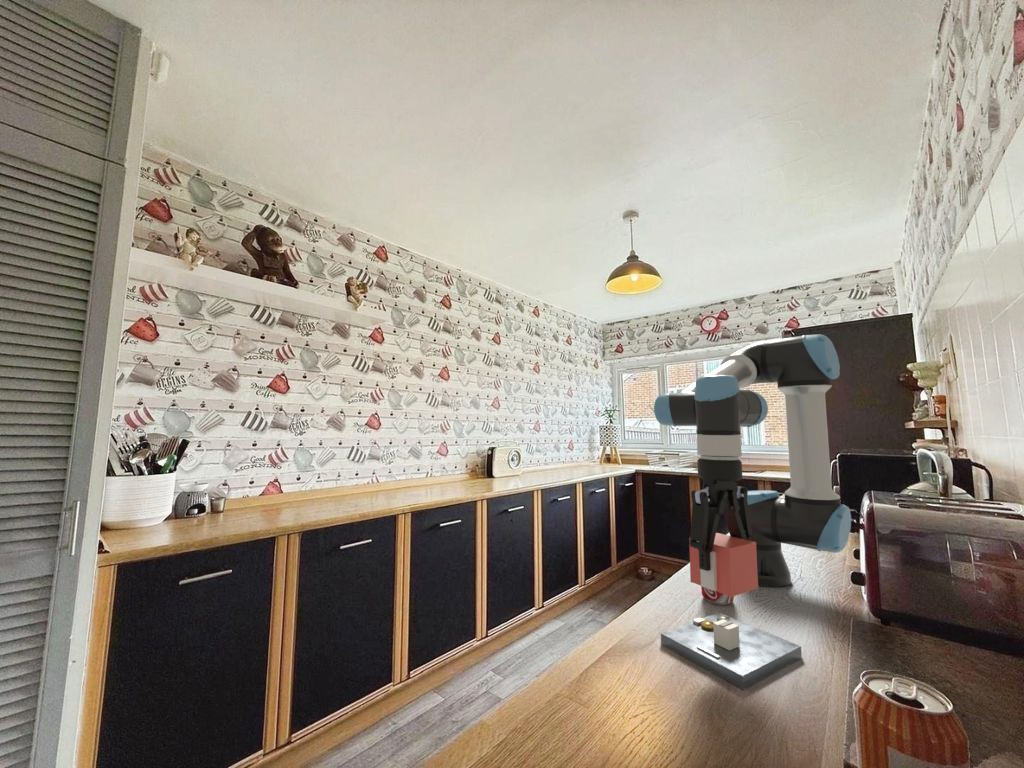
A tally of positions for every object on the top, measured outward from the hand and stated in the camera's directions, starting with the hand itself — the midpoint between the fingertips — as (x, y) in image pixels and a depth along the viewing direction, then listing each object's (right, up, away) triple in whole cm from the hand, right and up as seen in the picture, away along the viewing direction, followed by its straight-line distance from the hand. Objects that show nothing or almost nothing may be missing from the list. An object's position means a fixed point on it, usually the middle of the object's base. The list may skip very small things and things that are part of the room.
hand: (723, 583), depth 78 cm
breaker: (0, -11, -1) cm, 11 cm away
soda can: (+10, -15, +23) cm, 30 cm away
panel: (+1, -13, +1) cm, 13 cm away
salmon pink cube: (0, 0, 0) cm, 0 cm away
